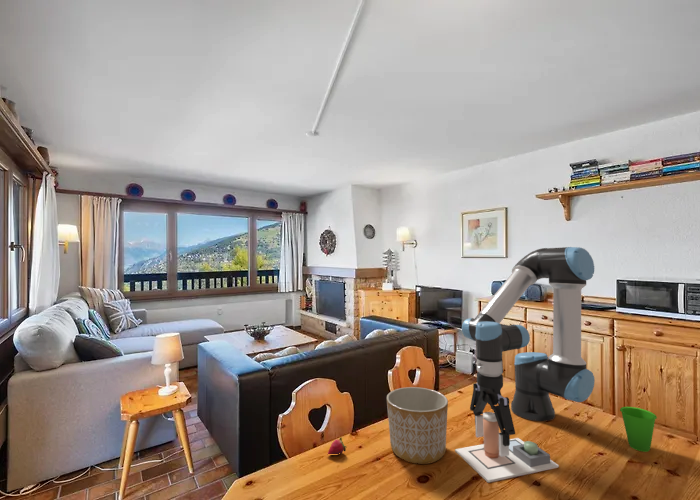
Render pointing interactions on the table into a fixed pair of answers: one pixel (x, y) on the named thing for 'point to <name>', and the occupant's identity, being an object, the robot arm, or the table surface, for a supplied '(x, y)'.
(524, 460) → the button housing
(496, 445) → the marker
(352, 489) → the table surface
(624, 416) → the cup
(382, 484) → the table surface
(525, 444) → the button
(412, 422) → the planter
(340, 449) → the fruit
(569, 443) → the table surface
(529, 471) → the sheet
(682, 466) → the table surface
